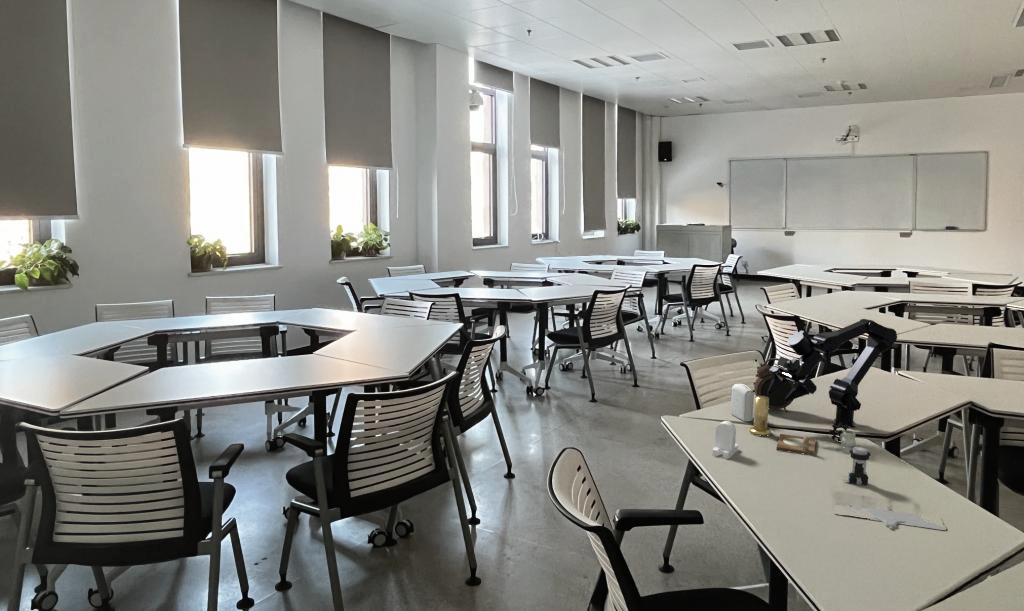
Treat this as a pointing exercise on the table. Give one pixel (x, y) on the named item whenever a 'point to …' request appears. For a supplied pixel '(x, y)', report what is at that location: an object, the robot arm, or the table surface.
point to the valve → (844, 437)
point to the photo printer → (742, 402)
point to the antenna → (898, 518)
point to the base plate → (796, 444)
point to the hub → (760, 417)
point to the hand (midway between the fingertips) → (776, 397)
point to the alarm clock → (764, 382)
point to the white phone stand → (725, 440)
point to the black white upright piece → (858, 466)
